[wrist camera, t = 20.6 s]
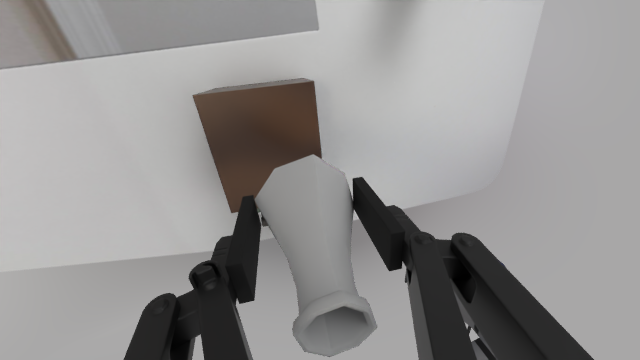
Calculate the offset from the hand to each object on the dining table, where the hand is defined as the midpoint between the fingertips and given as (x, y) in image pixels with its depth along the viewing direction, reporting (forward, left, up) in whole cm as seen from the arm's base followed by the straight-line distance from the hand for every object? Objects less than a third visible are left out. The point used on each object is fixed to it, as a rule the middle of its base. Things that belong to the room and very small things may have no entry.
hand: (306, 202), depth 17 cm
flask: (0, 0, 0) cm, 0 cm away
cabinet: (0, +3, -21) cm, 21 cm away
